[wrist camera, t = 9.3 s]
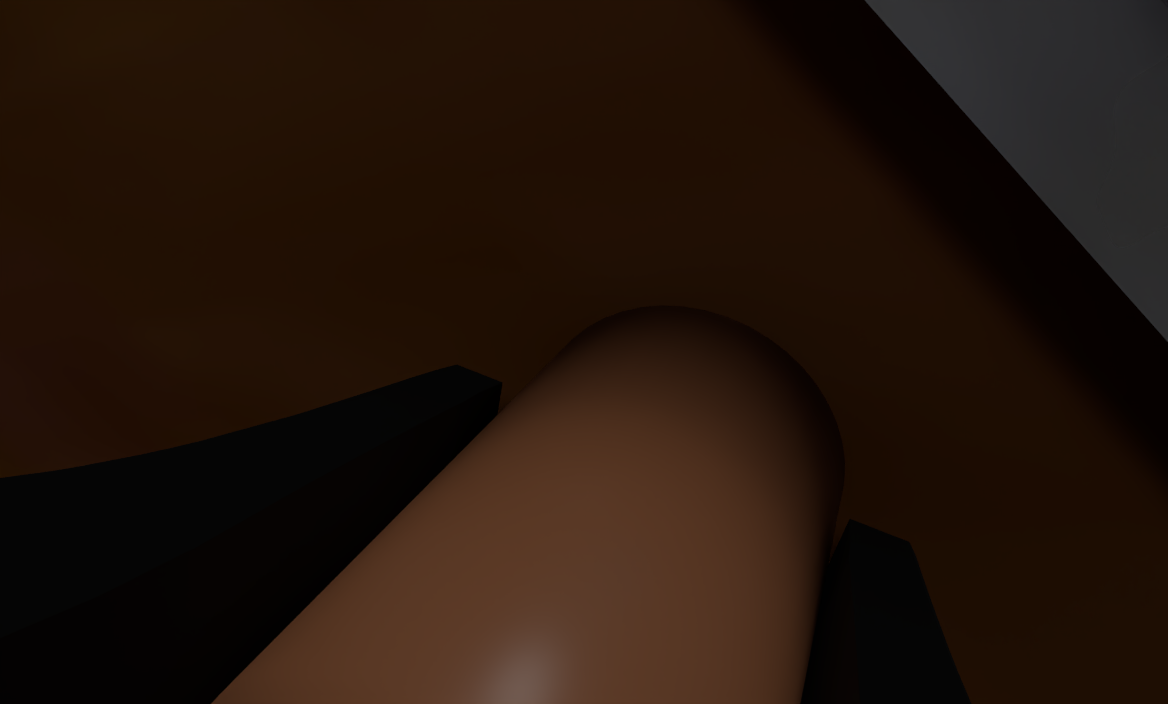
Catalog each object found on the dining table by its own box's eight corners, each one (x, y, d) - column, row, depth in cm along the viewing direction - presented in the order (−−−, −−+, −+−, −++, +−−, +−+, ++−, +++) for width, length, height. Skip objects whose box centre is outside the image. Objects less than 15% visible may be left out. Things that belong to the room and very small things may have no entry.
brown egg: (919, 495, 9) (886, 1104, 4) (677, 624, 12) (471, 1131, 7) (684, 237, 9) (369, 568, 4) (484, 418, 11) (119, 779, 6)
